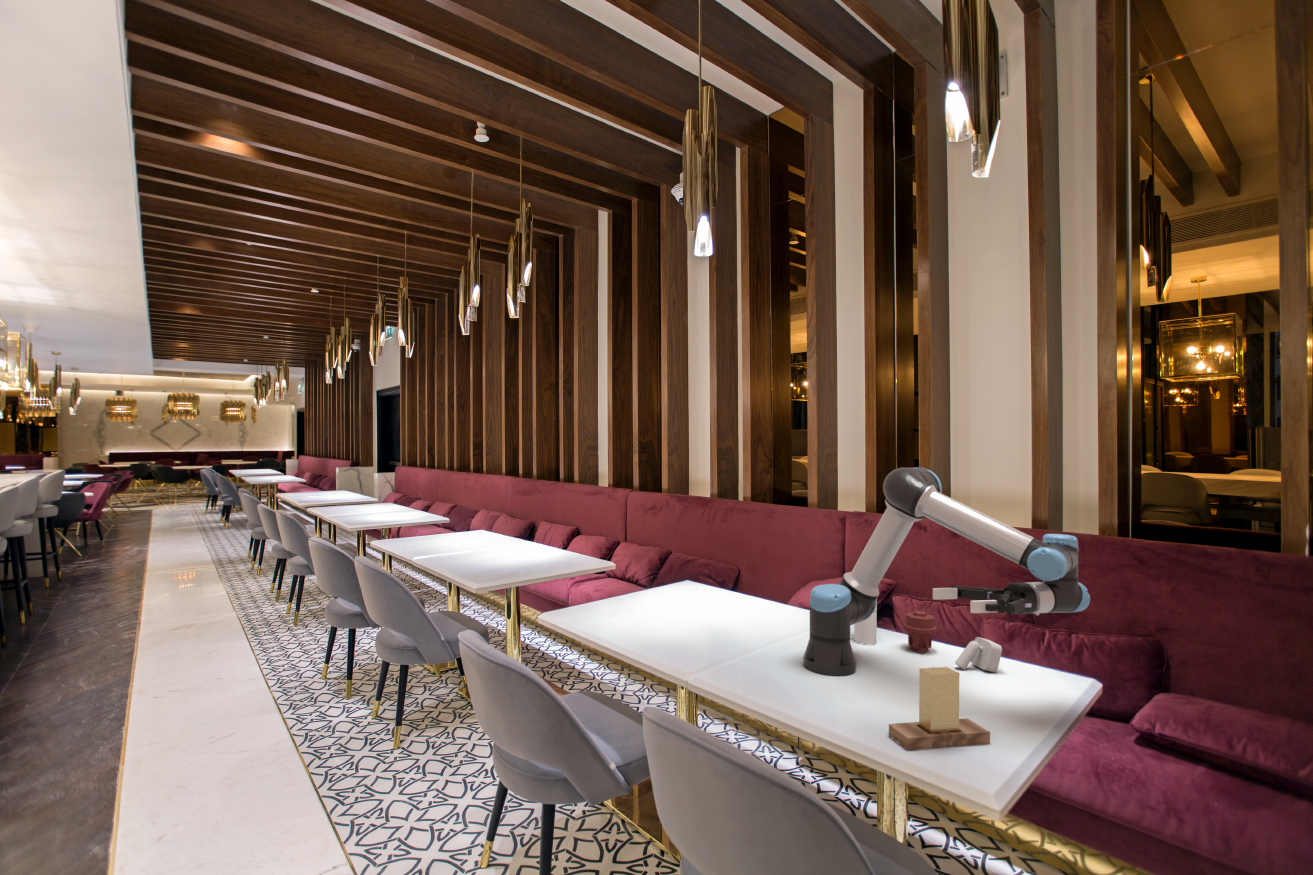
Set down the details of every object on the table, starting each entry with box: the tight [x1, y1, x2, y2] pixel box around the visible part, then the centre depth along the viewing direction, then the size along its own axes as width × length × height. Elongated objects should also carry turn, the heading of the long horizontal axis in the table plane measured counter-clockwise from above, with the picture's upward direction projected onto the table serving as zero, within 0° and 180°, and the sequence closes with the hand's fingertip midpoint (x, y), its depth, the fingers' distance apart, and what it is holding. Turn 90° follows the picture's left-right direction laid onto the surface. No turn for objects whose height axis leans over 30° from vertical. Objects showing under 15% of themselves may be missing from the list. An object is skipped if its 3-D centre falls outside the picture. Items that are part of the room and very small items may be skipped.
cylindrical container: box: [853, 598, 878, 645], centre depth 206 cm, size 7×7×25 cm
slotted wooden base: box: [888, 718, 991, 751], centre depth 133 cm, size 20×7×2 cm, turn 101°
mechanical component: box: [902, 610, 938, 655], centre depth 197 cm, size 12×10×10 cm
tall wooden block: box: [918, 666, 960, 734], centre depth 134 cm, size 7×4×15 cm, turn 101°
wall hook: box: [954, 636, 1003, 673], centre depth 180 cm, size 8×10×10 cm
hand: (951, 600), depth 146 cm, fingers open, 13 cm apart
